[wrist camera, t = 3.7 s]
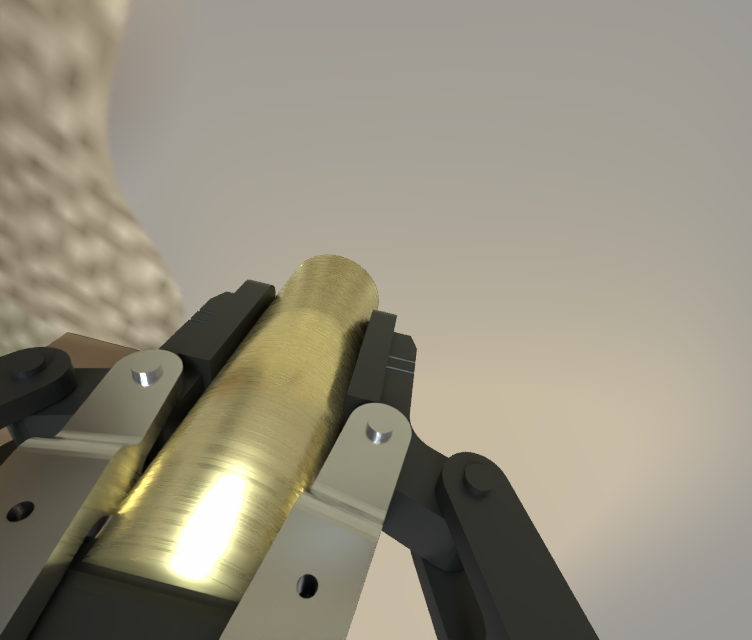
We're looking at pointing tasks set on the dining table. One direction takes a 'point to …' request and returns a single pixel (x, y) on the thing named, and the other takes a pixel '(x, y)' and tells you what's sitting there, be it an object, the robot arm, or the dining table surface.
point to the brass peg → (247, 441)
